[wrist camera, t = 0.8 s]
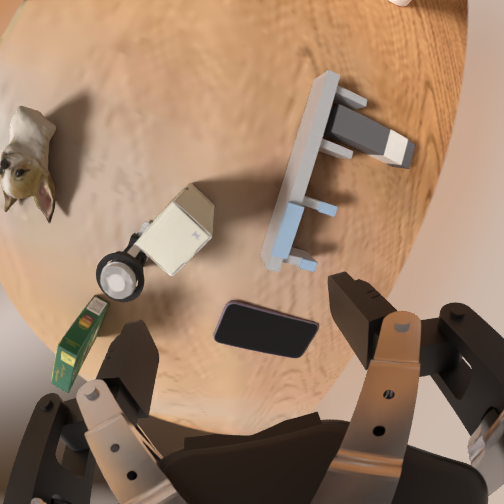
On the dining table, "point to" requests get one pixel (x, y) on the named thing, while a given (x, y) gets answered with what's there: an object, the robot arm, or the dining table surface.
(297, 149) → the grey pronged rack
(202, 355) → the dining table surface
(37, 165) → the ceramic sculpture
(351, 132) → the gray rectangular block
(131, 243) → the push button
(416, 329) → the robot arm
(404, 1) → the cosmetic bottle
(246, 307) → the smartphone
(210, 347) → the dining table surface
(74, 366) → the coffee box
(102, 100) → the dining table surface
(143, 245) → the box
